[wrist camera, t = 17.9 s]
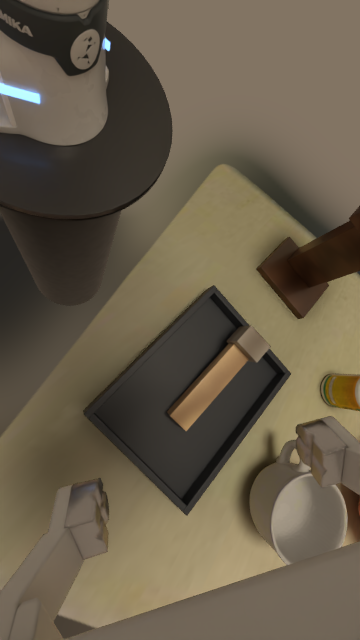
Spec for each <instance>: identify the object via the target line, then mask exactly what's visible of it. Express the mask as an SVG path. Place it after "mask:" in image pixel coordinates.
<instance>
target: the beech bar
mask: <svg viewBox="0 0 360 640" xmlns="http://www.w3.org/2000/svg"><path fill="white" fill-rule="evenodd" d="M227 343H228V345H227V346H226V347H225V348H224V349H223V350H222V352H221V353H220V354H219V355H218V356H217V357H216V358H215V359H214V360H213V361H212V363H211V364H210V365H209V366H208V367H207V368H206V369H205V370H204V371H203V372H202V374H201V375H200V376H199V377H198V378H197V379H196V380H195V381H194V382H193V383H192V385H191V386H190V387H189V388H188V389H187V390H186V391H185V392H184V393H183V395H182V396H181V397H180V398H179V399H178V400H177V401H176V402H175V403H174V404H173V406H172V407H171V408H170V409H169V410H168V411H167V413H168V414H169V415H170V416H171V417H172V418H173V419H174V420H175V421H176V422H177V423H178V424H179V425H180V426H181V427H182V428H183V429H184V430H185V431H187V430H188V429H189V428H190V427H191V425H192V424H193V423H194V422H195V421H196V420H197V418H198V417H199V416H200V415H201V414H202V413H203V412H204V410H205V409H206V408H207V407H208V406H209V405H210V404H211V402H212V401H213V400H214V399H215V398H216V397H217V396H218V394H219V393H220V392H221V391H222V390H223V389H224V387H225V386H226V385H227V384H228V383H229V382H230V381H231V379H232V378H233V377H234V376H235V375H236V374H237V373H238V371H239V370H240V369H241V368H242V367H243V366H244V364H245V363H246V362H247V361H249V362H256V363H257V362H258V361H259V360H260V359H261V357H262V356H263V355H264V354H265V353H266V352H267V350H268V349H269V348H270V347H271V346H270V345H269V344H268V343H267V342H266V341H265V340H264V339H263V337H262V336H261V335H260V334H259V333H258V332H257V331H256V330H255V329H254V328H253V327H252V326H251V325H250V326H240V327H239V328H238V329H237V330H236V331H235V332H234V333H233V334H232V335H231V337H230V338H229V339H228V340H227Z"/></svg>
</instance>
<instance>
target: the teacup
mask: <svg viewBox="0 0 360 640" xmlns="http://www.w3.org/2000/svg"><path fill="white" fill-rule="evenodd" d="M294 448H295V449H296V440H291V441H288V442H287V443H285V445H284V446H283V448H282V450H281V453H280V456H279V457H278V458H277V459H276V463H273V464H271V465H269V466H267V467H266V468H264V469H263V470H262V471H261V472H260V473H259V474H258V476H257V477H256V479H255V481H254V483H253V485H252V488H251V492H250V512H251V516H252V519H253V522H254V524H255V526H256V528H257V530H258V531H259V533H260V534H261V535H262V537H263V538H264V539H265V540H266V542H267V543H268V544H269V545H270V546H271V547H272V548H273V549H274V550H275V551H276V552H277V554H278V555H279V557H280V558H281V559H282V561H283V562H284V563H285V564H286V565H289V564H292V563H295V562H298V561H301V560H304V559H308V558H311V557H314V556H317V555H320V554H323V553H326V552H329V551H332V550H335V549H338V548H341V547H342V545H343V543H344V539H345V536H346V532H347V522H348V517H347V509H346V505H345V501H344V498H343V496H342V493H341V492H340V490H339V489H338V487H337V486H336V485H335V484H334V485H330V486H327V487H323V488H321V487H320V485H319V484H318V482H317V481H316V480H315V478H314V477H313V476H312V474H311V470H309V469H310V467H309V466H307V465H305V464H304V463H303V462H302V460H301V459H300V463H299V464H298V465H297V464H294V463H290V462H289V460H290V456H291V453H292V451H293V450H294ZM296 450H297V449H296Z"/></svg>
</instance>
